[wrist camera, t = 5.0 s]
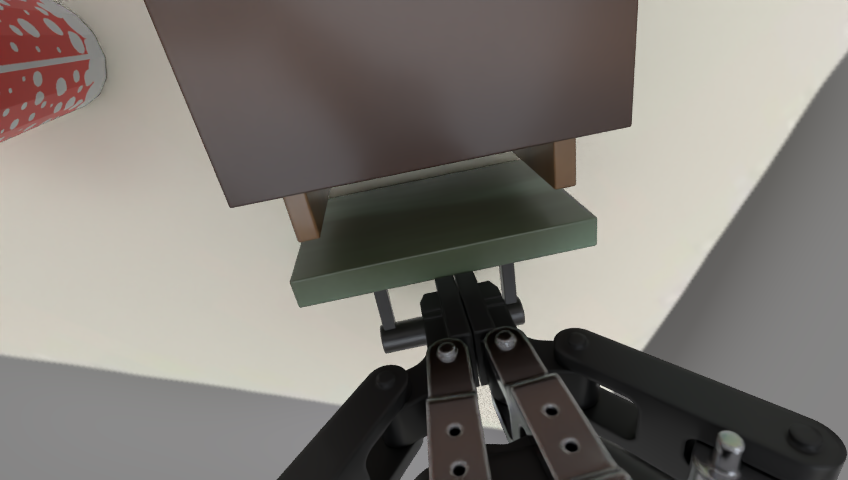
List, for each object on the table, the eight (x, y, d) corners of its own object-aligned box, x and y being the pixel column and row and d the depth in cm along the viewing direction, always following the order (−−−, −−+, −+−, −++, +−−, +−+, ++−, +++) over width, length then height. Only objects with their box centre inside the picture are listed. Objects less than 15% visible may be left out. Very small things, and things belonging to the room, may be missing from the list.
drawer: (533, 268, 26) (595, 358, 19) (346, 308, 26) (339, 414, 19) (509, -143, 17) (607, -257, 10) (221, -90, 17) (118, -169, 10)
